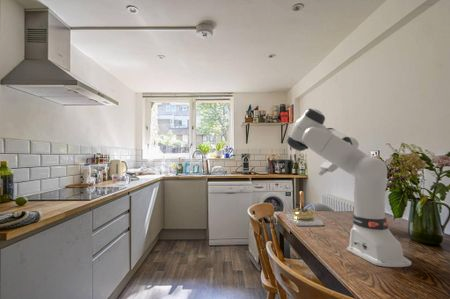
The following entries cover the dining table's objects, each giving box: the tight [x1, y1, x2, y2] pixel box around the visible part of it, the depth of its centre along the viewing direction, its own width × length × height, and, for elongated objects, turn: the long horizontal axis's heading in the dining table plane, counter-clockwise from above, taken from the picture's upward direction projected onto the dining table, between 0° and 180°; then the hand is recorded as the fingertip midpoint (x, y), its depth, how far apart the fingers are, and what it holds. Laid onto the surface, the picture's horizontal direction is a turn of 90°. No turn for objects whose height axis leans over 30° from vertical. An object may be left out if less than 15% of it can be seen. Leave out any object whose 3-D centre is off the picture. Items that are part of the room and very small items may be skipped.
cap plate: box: [285, 213, 324, 227], centre depth 144 cm, size 20×15×2 cm
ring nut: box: [292, 190, 315, 220], centre depth 146 cm, size 12×15×14 cm
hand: (319, 174), depth 151 cm, fingers closed
